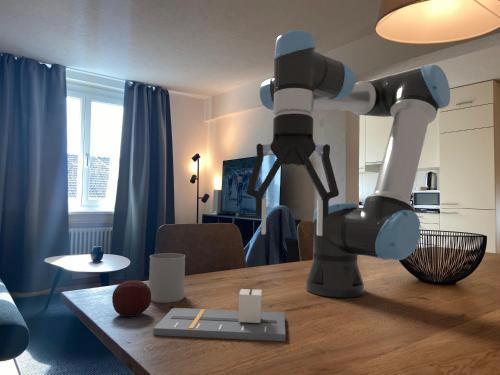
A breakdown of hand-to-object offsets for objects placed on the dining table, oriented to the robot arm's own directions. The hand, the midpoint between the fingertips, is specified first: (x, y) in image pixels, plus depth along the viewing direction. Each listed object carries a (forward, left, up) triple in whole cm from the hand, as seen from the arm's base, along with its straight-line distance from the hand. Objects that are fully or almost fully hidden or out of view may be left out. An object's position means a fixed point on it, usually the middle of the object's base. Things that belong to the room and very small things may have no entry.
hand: (291, 234), depth 69 cm
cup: (+29, -18, -18) cm, 39 cm away
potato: (+32, -4, -18) cm, 37 cm away
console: (+12, 0, -18) cm, 22 cm away
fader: (+7, 0, -16) cm, 18 cm away
